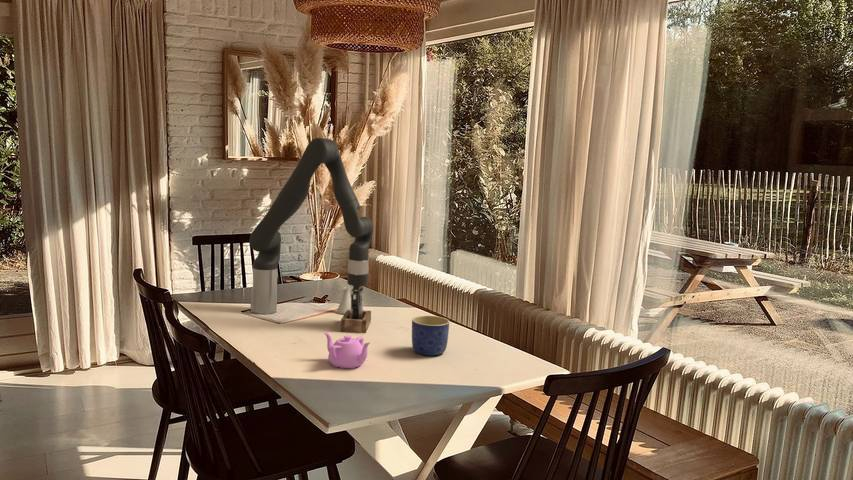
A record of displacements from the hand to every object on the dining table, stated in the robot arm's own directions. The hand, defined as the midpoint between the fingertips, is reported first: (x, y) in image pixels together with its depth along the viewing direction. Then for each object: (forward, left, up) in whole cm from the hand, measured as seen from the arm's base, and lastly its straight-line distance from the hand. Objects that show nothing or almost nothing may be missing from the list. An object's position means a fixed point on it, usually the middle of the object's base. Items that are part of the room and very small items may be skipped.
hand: (356, 317), depth 259 cm
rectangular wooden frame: (0, 0, -4) cm, 4 cm away
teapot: (+3, -42, -4) cm, 42 cm away
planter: (+28, -25, -4) cm, 38 cm away
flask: (-7, +20, -4) cm, 22 cm away
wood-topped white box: (0, 0, -2) cm, 2 cm away
